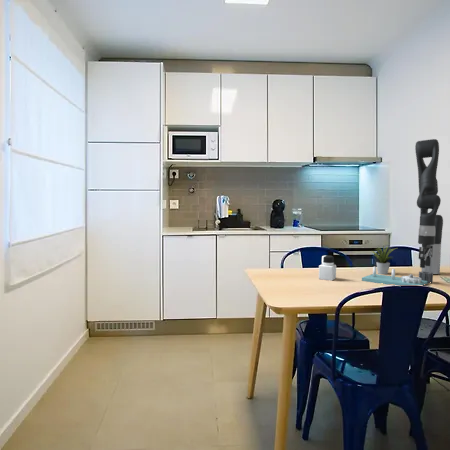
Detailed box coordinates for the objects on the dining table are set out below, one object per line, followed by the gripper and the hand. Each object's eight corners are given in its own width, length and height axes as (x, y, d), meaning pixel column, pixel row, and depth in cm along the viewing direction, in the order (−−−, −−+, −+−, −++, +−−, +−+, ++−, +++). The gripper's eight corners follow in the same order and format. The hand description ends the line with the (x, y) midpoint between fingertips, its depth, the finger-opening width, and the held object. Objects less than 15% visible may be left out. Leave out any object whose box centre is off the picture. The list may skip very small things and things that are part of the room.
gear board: (373, 276, 218) (373, 264, 217) (427, 284, 200) (428, 270, 199) (361, 280, 206) (362, 267, 206) (418, 288, 189) (418, 274, 188)
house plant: (393, 271, 234) (395, 243, 233) (402, 276, 220) (403, 246, 219) (368, 270, 235) (369, 242, 234) (374, 275, 221) (375, 245, 220)
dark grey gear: (420, 280, 209) (421, 270, 208) (434, 282, 204) (434, 272, 204) (416, 282, 204) (417, 272, 204) (430, 284, 200) (431, 274, 199)
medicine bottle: (336, 278, 212) (336, 255, 211) (332, 280, 205) (332, 257, 205) (322, 276, 215) (323, 254, 214) (318, 279, 209) (319, 256, 208)
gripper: (423, 233, 210) (421, 264, 211) (414, 234, 200) (412, 267, 201) (439, 234, 205) (437, 266, 206) (430, 235, 195) (428, 269, 196)
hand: (425, 266), depth 203 cm, fingers open, 8 cm apart
